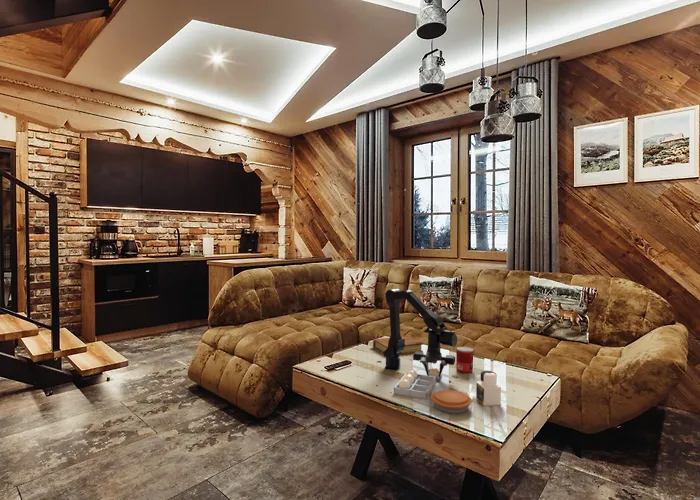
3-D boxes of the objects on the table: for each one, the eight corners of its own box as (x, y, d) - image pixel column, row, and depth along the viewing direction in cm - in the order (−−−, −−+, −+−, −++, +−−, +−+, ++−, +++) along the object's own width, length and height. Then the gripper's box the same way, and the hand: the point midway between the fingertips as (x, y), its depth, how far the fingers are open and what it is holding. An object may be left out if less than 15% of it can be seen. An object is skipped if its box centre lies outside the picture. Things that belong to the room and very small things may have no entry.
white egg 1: (405, 381, 177) (405, 371, 177) (408, 378, 181) (408, 367, 181) (415, 383, 175) (416, 372, 175) (418, 379, 180) (418, 369, 179)
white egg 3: (397, 392, 165) (397, 380, 165) (400, 388, 169) (400, 377, 169) (408, 393, 163) (408, 382, 163) (411, 389, 167) (411, 378, 167)
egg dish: (425, 379, 181) (425, 377, 181) (428, 375, 187) (428, 373, 187) (439, 381, 179) (439, 379, 179) (441, 377, 185) (441, 375, 184)
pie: (437, 396, 162) (437, 384, 162) (476, 404, 154) (476, 392, 154) (424, 410, 149) (424, 397, 149) (466, 420, 141) (466, 406, 141)
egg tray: (393, 393, 164) (393, 387, 164) (406, 378, 183) (406, 372, 183) (426, 399, 159) (426, 392, 159) (435, 382, 178) (436, 376, 178)
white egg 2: (401, 386, 171) (401, 375, 171) (404, 382, 175) (404, 372, 175) (412, 388, 169) (412, 377, 169) (415, 384, 173) (415, 373, 173)
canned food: (473, 374, 189) (474, 351, 189) (456, 372, 191) (457, 350, 191) (472, 368, 197) (472, 347, 197) (455, 367, 198) (456, 346, 198)
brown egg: (427, 378, 181) (427, 368, 181) (429, 375, 186) (429, 365, 186) (438, 379, 180) (438, 369, 180) (439, 376, 184) (439, 366, 184)
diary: (406, 344, 244) (406, 335, 244) (422, 352, 226) (423, 342, 226) (372, 348, 235) (373, 338, 235) (387, 356, 218) (387, 346, 218)
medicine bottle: (475, 398, 160) (476, 369, 160) (492, 398, 160) (493, 369, 160) (483, 406, 153) (483, 375, 152) (501, 405, 153) (501, 375, 153)
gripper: (410, 345, 179) (409, 378, 179) (452, 349, 171) (451, 385, 172) (415, 339, 189) (415, 371, 189) (455, 343, 182) (455, 376, 182)
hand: (433, 376), depth 183 cm, fingers open, 5 cm apart
